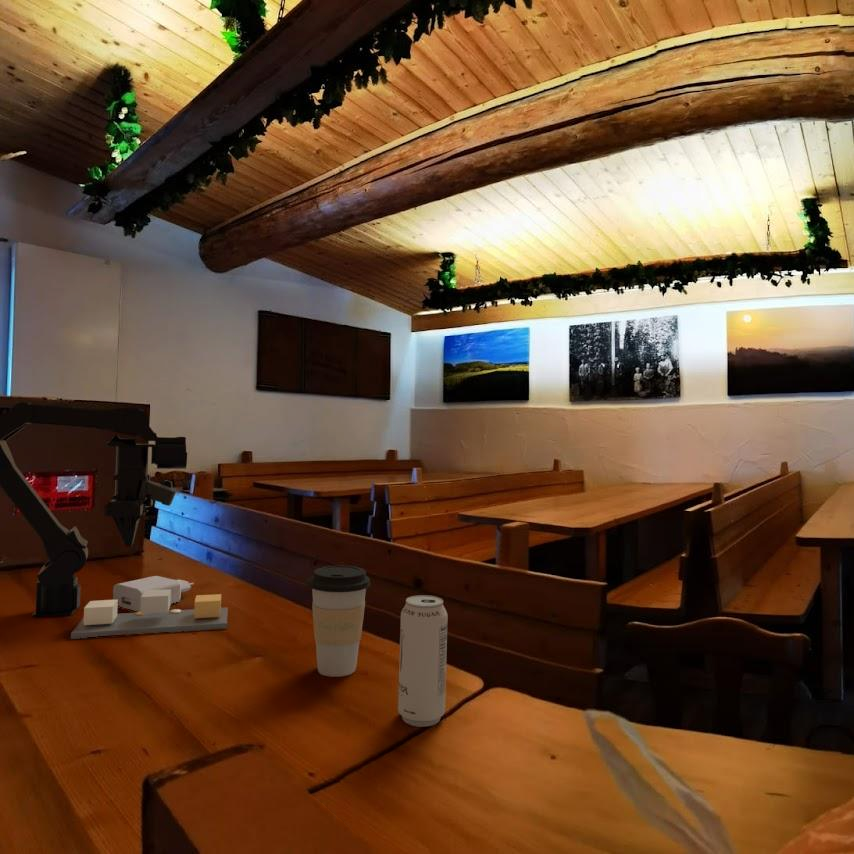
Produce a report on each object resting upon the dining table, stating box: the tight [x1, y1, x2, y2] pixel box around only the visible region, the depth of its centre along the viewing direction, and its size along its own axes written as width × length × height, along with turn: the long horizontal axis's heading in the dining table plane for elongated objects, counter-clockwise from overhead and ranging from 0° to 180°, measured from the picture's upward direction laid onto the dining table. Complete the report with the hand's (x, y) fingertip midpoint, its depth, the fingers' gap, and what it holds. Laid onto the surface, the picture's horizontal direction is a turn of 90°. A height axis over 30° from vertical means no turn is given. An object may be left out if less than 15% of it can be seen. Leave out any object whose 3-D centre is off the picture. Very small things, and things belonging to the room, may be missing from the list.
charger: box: [112, 575, 195, 612], centre depth 124 cm, size 5×9×15 cm
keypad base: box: [70, 607, 229, 640], centre depth 109 cm, size 25×10×1 cm, turn 108°
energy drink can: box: [397, 594, 448, 728], centre depth 76 cm, size 6×6×15 cm
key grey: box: [141, 589, 172, 614], centre depth 109 cm, size 4×4×3 cm
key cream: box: [83, 599, 119, 625], centre depth 106 cm, size 4×4×3 cm
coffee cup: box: [307, 565, 371, 678], centre depth 91 cm, size 9×9×15 cm
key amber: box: [193, 593, 222, 618], centre depth 112 cm, size 4×4×3 cm
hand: (129, 546), depth 120 cm, fingers closed
